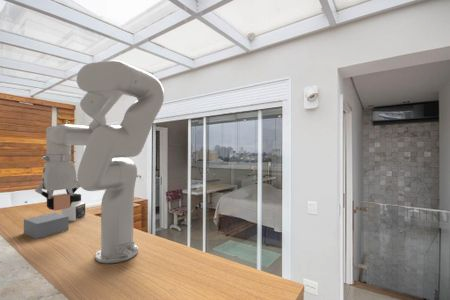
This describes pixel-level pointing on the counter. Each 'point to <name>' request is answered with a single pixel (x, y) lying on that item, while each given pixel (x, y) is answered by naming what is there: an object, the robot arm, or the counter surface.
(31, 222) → the grey block
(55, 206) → the terracotta cube
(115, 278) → the counter surface
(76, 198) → the medicine bottle
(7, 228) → the counter surface
